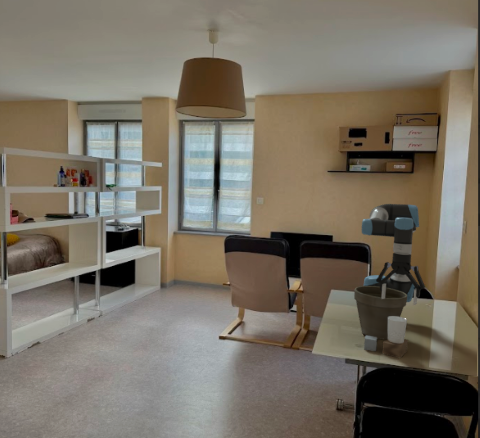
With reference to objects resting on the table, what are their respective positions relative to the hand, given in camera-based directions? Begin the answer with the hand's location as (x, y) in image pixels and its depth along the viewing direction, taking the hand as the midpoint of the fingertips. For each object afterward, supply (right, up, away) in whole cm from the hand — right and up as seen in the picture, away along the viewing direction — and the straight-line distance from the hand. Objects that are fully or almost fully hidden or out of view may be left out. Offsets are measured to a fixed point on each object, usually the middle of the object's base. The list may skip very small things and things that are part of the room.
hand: (398, 301), depth 191 cm
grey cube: (-11, -22, +5) cm, 25 cm away
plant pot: (-1, -21, +25) cm, 33 cm away
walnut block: (-1, -23, +1) cm, 23 cm away
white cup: (-1, -18, +1) cm, 18 cm away
